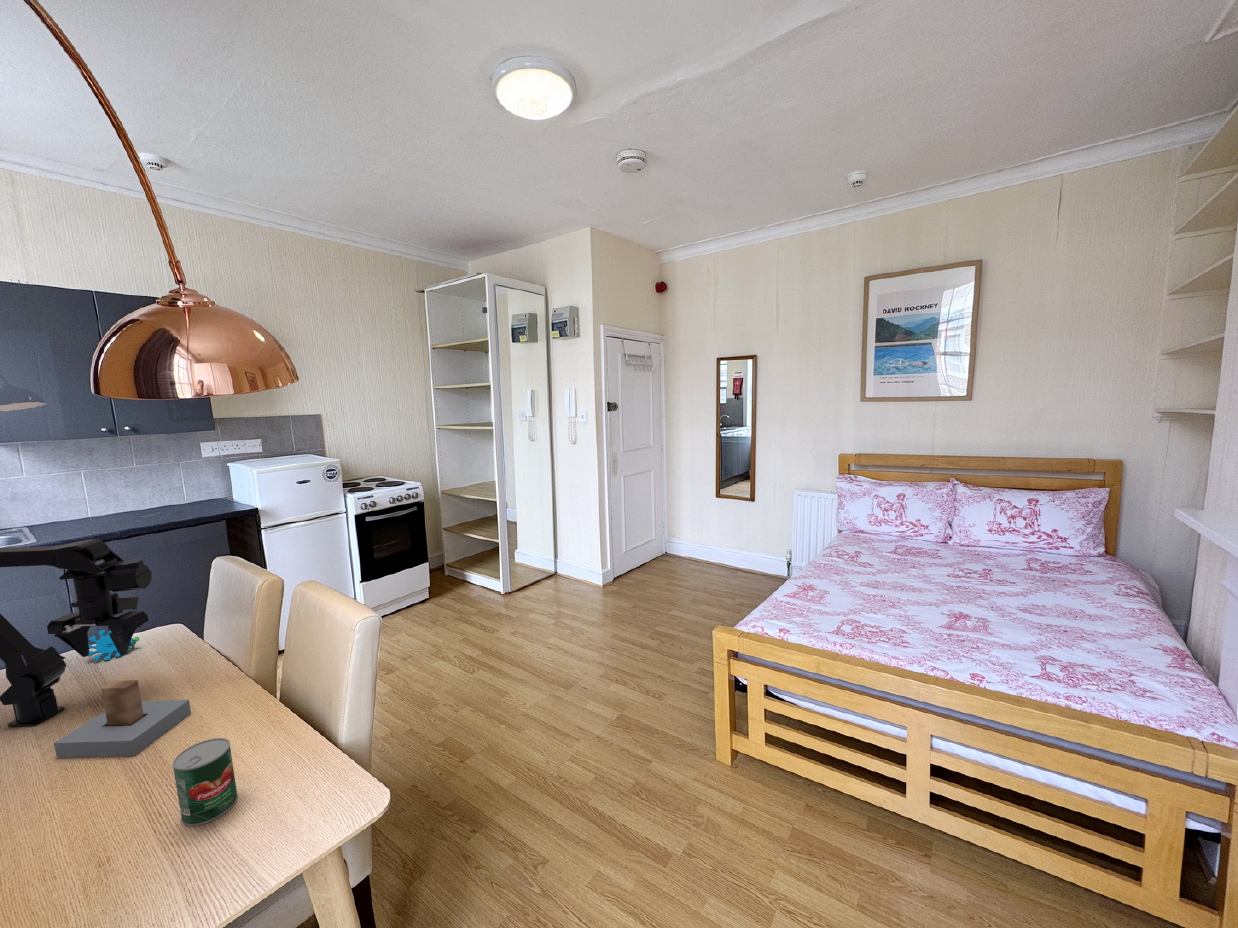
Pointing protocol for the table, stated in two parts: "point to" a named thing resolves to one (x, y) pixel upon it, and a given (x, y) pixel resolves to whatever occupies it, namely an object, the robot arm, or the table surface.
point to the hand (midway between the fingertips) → (105, 655)
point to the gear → (106, 646)
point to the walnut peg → (122, 703)
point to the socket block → (122, 732)
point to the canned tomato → (205, 781)
